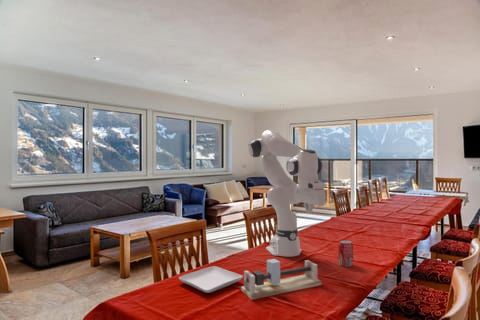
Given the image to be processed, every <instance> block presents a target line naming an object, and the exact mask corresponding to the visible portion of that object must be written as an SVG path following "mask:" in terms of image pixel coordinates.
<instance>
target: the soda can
mask: <svg viewBox="0 0 480 320" xmlns="http://www.w3.org/2000/svg"><path fill="white" fill-rule="evenodd" d="M338 264H339V265H340V266H342V267H344V268H346V267H347V268H349V267H351V266H353V265H354V246H353V242H352V241H350V240H348V239H347V240H344V239H342V240H340V241H339V243H338Z"/></svg>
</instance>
